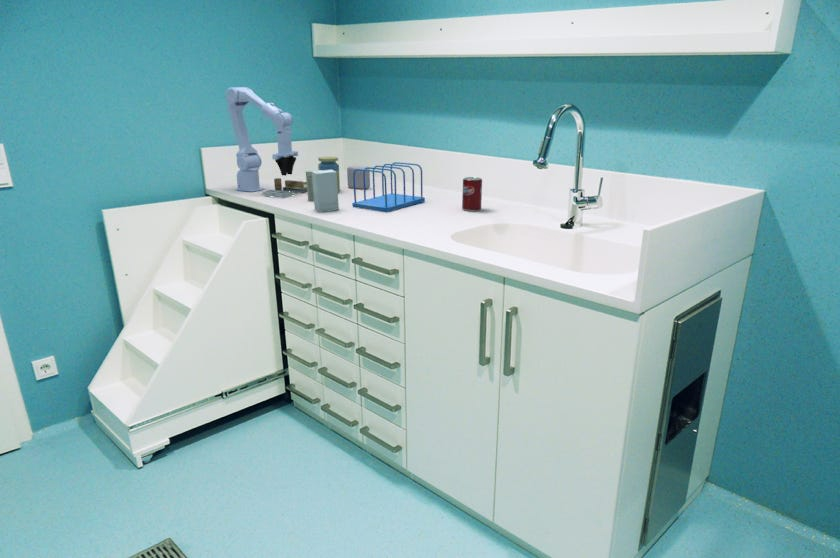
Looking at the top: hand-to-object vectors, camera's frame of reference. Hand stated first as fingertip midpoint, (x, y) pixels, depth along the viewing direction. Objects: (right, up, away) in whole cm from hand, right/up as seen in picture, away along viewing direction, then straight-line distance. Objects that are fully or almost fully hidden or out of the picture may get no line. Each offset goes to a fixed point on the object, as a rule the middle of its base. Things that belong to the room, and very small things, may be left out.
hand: (286, 174), depth 252 cm
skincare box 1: (+14, -12, -10) cm, 22 cm away
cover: (+3, -4, +11) cm, 12 cm away
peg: (-5, -7, +7) cm, 11 cm away
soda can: (+77, -18, -27) cm, 84 cm away
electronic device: (+29, -3, +17) cm, 34 cm away
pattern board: (+5, -4, +15) cm, 16 cm away
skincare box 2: (+22, -19, -28) cm, 40 cm away
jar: (+17, -6, +8) cm, 20 cm away
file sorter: (+45, -15, -18) cm, 51 cm away
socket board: (-4, -9, 0) cm, 10 cm away
